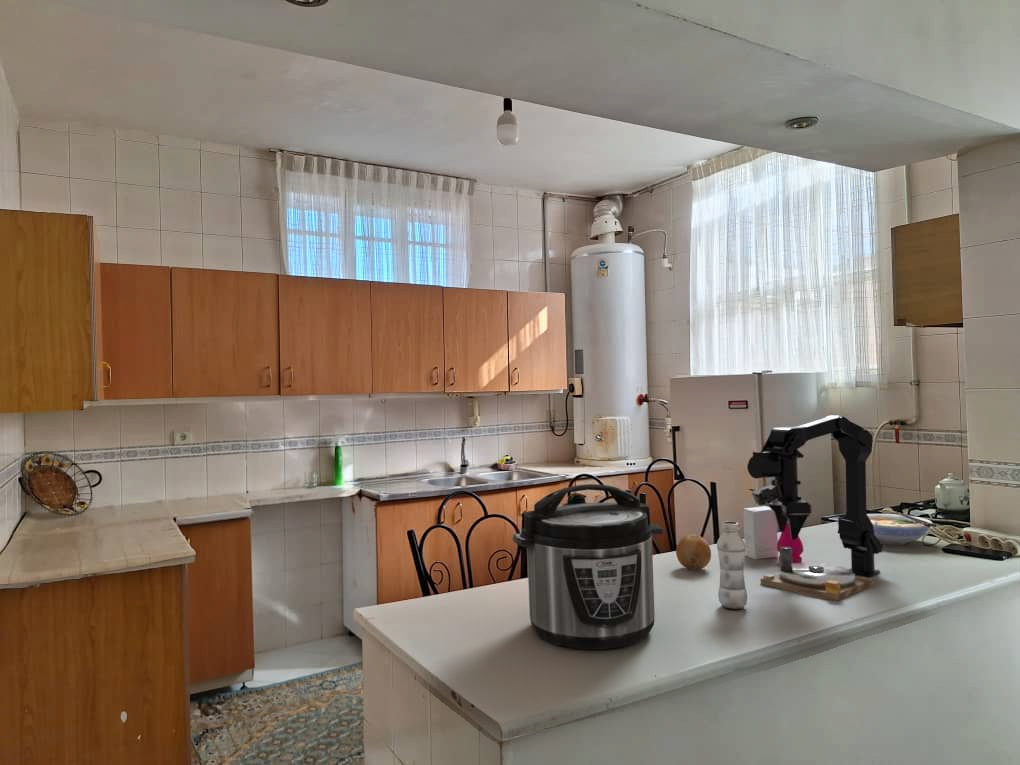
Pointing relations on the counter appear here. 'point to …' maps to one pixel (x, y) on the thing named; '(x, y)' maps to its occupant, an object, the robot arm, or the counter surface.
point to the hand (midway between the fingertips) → (787, 535)
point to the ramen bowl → (898, 527)
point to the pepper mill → (791, 545)
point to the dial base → (830, 592)
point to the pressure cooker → (590, 568)
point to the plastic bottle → (731, 567)
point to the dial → (812, 572)
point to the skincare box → (760, 532)
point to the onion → (693, 552)
